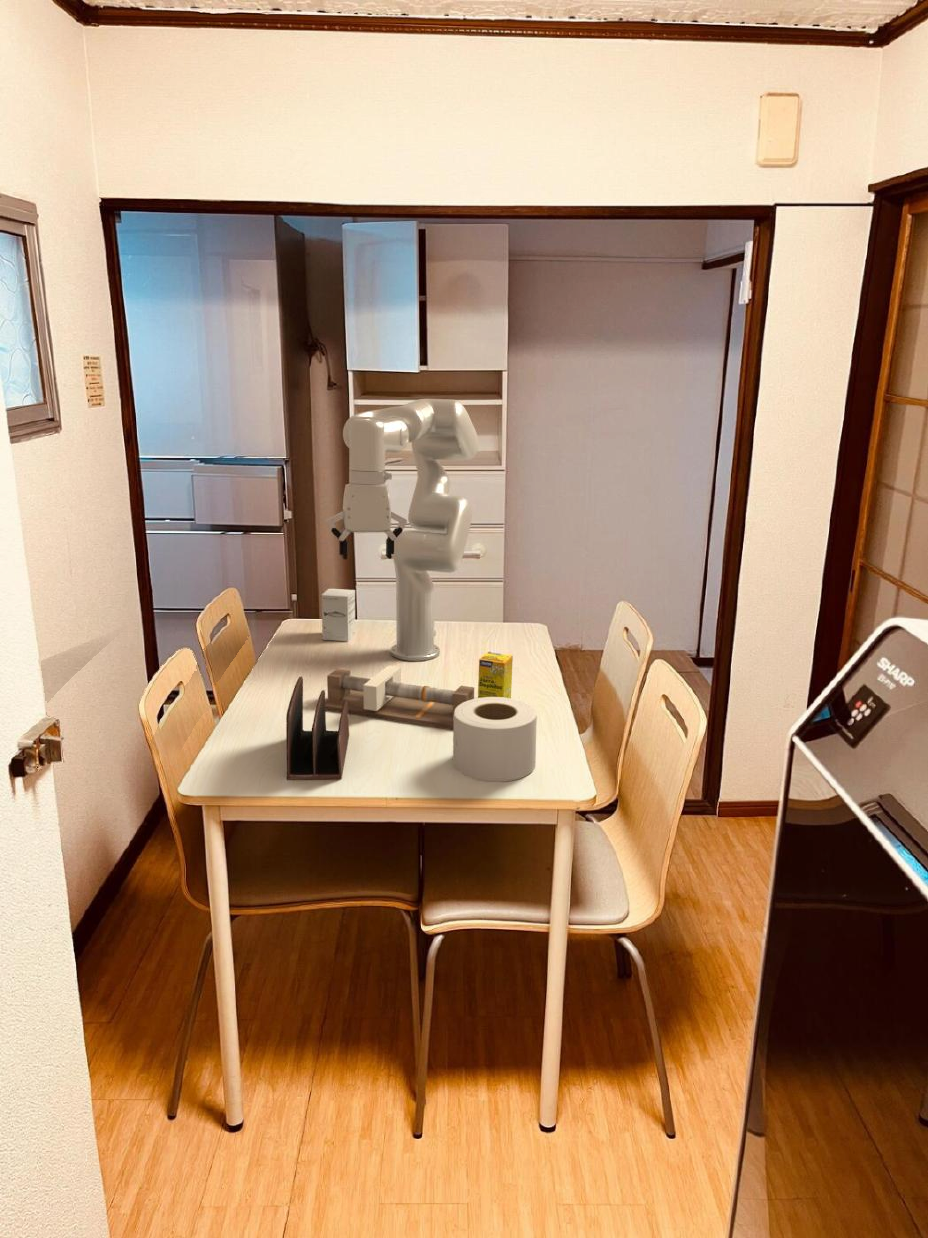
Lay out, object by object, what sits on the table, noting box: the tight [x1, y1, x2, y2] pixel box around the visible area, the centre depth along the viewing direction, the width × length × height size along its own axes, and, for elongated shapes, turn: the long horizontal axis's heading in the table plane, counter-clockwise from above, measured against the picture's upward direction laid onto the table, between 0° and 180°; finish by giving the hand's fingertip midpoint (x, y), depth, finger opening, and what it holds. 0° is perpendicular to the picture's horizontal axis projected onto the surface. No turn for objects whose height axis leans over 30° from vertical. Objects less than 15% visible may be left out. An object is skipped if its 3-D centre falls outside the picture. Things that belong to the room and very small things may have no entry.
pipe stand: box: [325, 668, 475, 731], centre depth 198 cm, size 12×32×6 cm, turn 71°
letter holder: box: [285, 675, 350, 781], centre depth 174 cm, size 10×20×14 cm, turn 3°
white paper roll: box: [452, 697, 538, 783], centre depth 172 cm, size 16×15×11 cm
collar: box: [363, 665, 402, 711], centre depth 199 cm, size 13×3×5 cm, turn 161°
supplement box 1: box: [321, 588, 356, 643], centre depth 245 cm, size 7×7×13 cm
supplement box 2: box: [477, 651, 514, 699], centre depth 201 cm, size 6×6×11 cm
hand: (366, 557), depth 199 cm, fingers open, 9 cm apart
